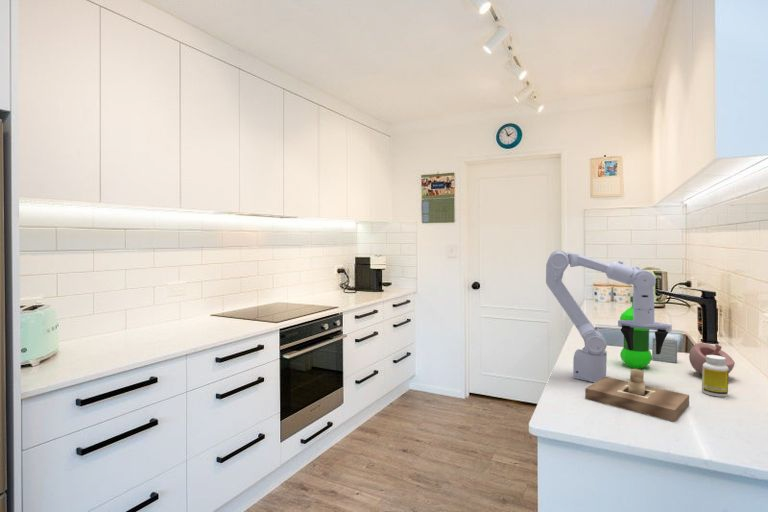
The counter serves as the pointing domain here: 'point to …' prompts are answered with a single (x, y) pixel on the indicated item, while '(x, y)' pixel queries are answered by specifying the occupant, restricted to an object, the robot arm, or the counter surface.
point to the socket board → (638, 398)
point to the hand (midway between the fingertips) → (644, 351)
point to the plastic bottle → (636, 344)
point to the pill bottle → (715, 376)
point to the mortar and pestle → (701, 350)
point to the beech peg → (636, 382)
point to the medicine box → (665, 350)
